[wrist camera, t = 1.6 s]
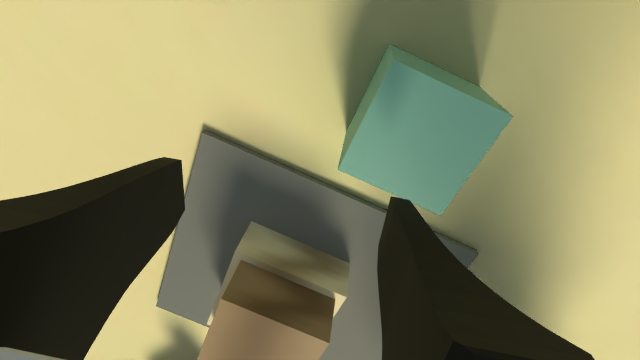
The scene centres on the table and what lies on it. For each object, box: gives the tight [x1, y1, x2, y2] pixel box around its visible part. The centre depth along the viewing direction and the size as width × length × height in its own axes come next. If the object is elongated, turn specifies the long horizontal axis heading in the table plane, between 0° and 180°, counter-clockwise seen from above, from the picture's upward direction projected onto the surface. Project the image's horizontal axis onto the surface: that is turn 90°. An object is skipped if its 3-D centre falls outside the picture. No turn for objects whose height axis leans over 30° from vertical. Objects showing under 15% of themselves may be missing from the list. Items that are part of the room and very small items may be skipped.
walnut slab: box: [197, 260, 335, 360], centre depth 21 cm, size 6×6×3 cm
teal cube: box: [338, 44, 513, 216], centre depth 17 cm, size 5×5×5 cm
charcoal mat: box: [156, 130, 478, 360], centre depth 25 cm, size 18×16×1 cm
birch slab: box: [207, 221, 350, 325], centre depth 24 cm, size 7×7×3 cm
